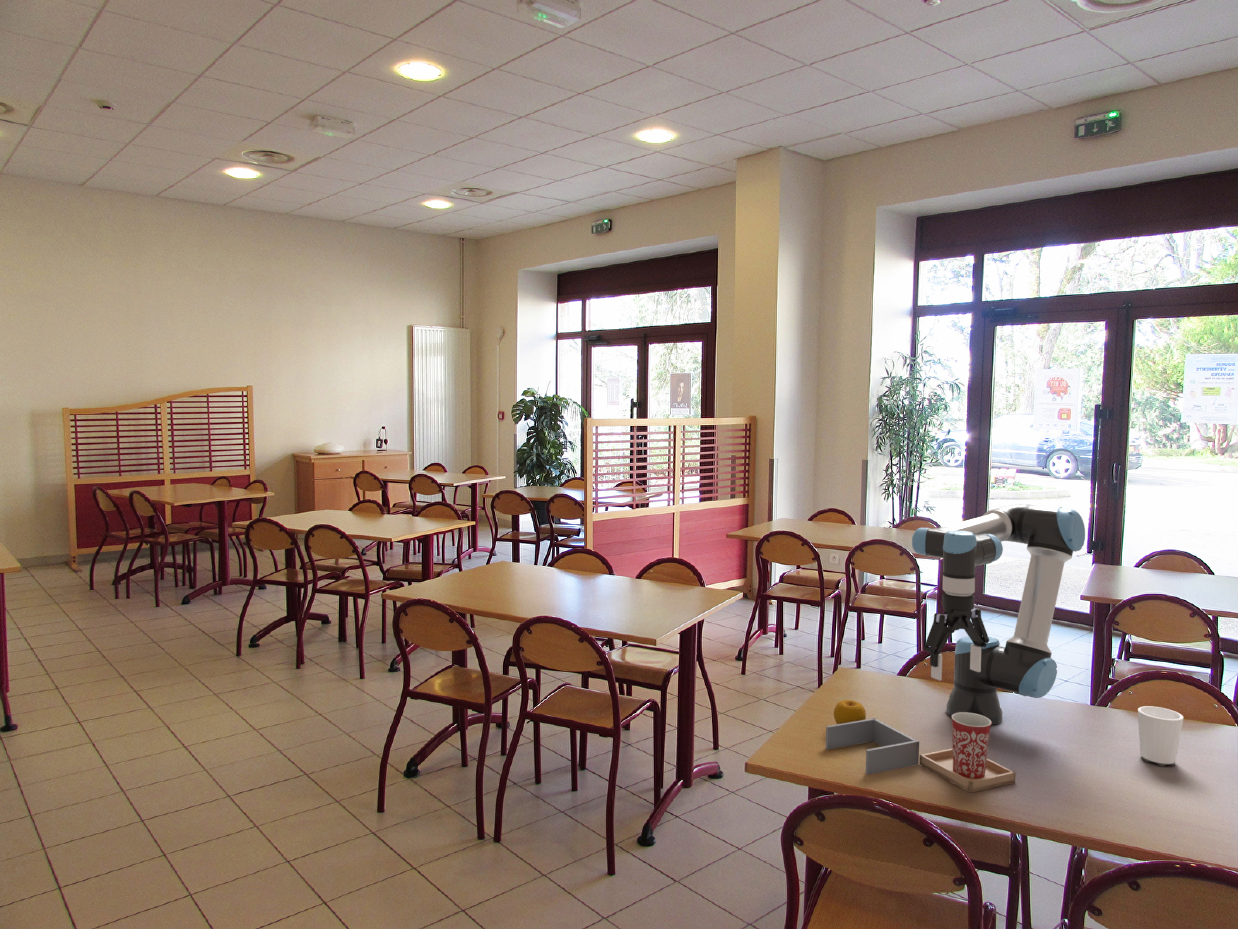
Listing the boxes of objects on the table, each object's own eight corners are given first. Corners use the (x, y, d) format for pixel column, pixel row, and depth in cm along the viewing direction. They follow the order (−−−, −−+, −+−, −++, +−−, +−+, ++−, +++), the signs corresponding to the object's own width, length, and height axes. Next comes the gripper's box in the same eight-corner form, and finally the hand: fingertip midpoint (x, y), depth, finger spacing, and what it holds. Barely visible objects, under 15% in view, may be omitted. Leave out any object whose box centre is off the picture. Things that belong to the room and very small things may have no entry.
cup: (1173, 756, 213) (1176, 708, 212) (1186, 772, 204) (1189, 722, 203) (1130, 750, 216) (1133, 704, 215) (1140, 765, 207) (1143, 717, 206)
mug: (993, 782, 194) (995, 727, 193) (953, 778, 196) (955, 724, 195) (981, 760, 206) (983, 708, 206) (943, 757, 208) (945, 705, 207)
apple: (831, 735, 223) (832, 703, 223) (835, 724, 231) (836, 694, 231) (863, 740, 220) (864, 708, 220) (866, 729, 228) (867, 698, 227)
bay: (873, 739, 221) (874, 718, 220) (918, 764, 205) (919, 741, 205) (825, 748, 215) (826, 726, 214) (867, 774, 199) (868, 751, 199)
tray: (962, 755, 211) (962, 746, 211) (1015, 782, 196) (1015, 772, 196) (919, 764, 206) (919, 754, 205) (970, 793, 191) (970, 782, 190)
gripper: (981, 584, 214) (979, 663, 216) (909, 594, 203) (908, 677, 205) (1005, 590, 207) (1003, 671, 209) (933, 601, 197) (931, 687, 198)
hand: (956, 674), depth 207 cm, fingers open, 13 cm apart
